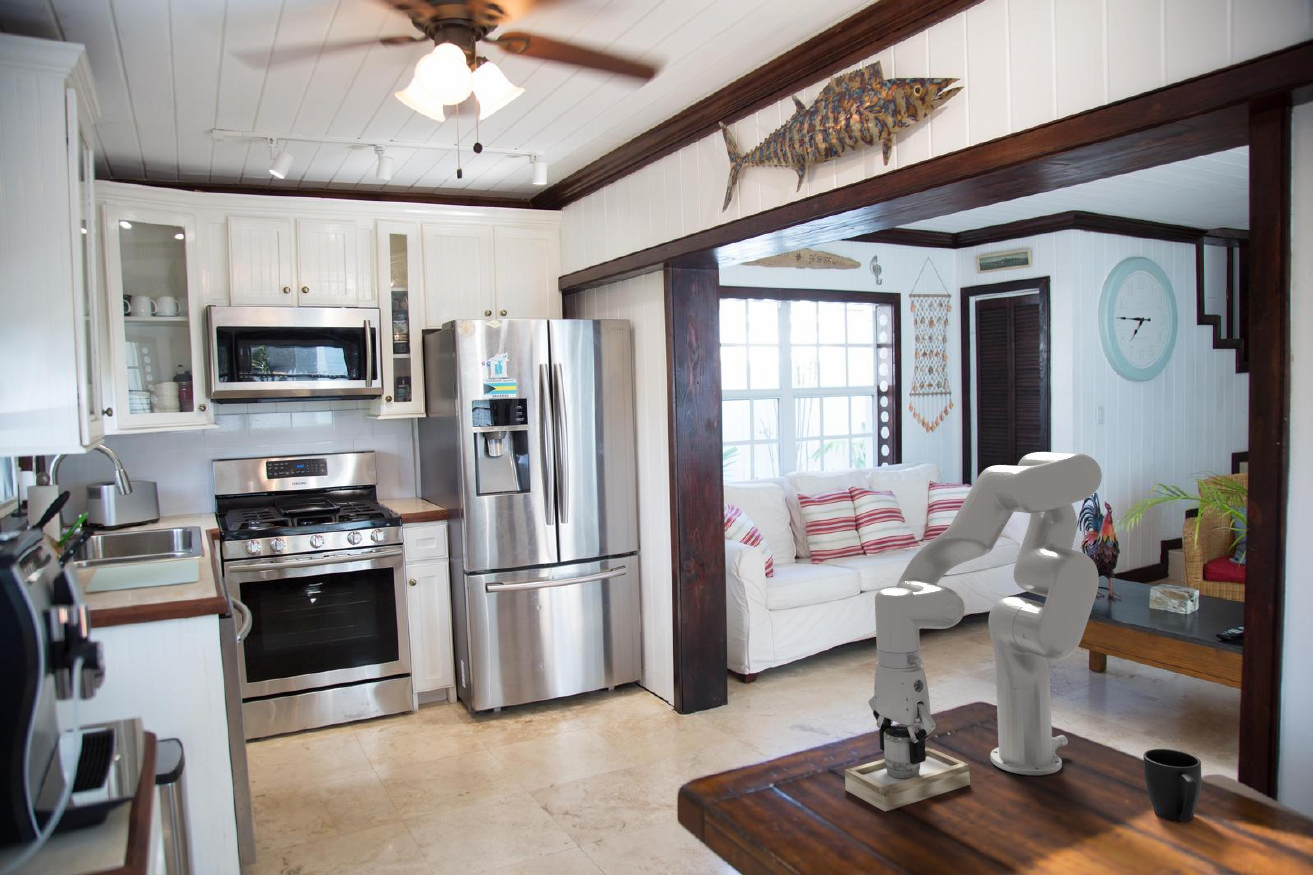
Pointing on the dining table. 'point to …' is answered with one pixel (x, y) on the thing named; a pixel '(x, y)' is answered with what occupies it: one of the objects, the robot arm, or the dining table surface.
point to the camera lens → (899, 753)
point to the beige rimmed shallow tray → (907, 781)
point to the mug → (1173, 783)
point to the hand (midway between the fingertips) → (902, 754)
